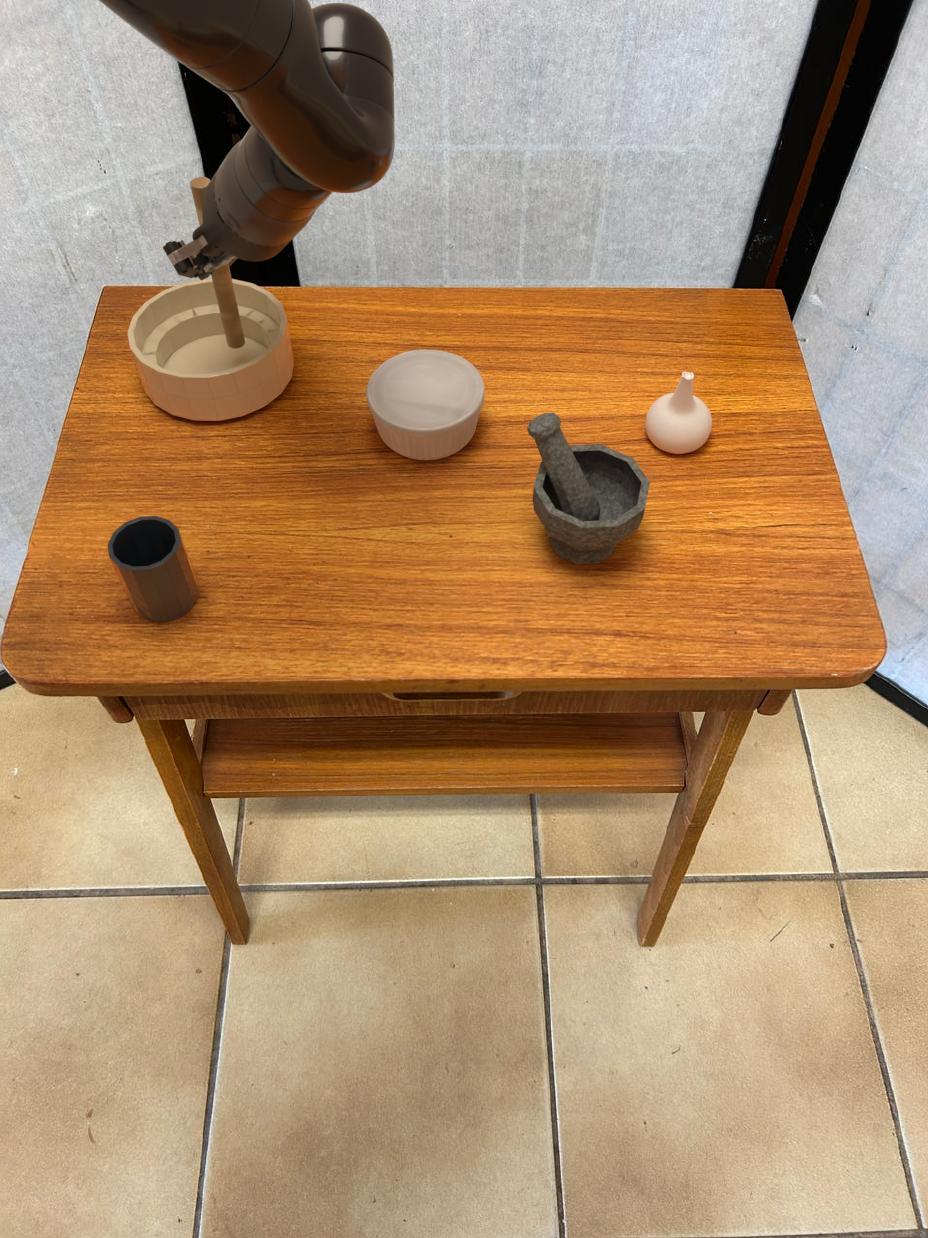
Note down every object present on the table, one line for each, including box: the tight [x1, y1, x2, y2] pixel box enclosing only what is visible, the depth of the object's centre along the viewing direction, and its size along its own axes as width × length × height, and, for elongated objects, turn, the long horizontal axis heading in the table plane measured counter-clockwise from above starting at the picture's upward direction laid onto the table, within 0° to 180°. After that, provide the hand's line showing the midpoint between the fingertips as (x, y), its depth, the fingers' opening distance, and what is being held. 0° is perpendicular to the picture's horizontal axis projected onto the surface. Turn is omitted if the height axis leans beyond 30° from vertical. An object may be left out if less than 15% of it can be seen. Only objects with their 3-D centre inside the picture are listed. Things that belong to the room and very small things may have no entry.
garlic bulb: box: [644, 371, 713, 455], centre depth 90 cm, size 6×6×8 cm
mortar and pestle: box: [526, 412, 651, 565], centre depth 81 cm, size 11×9×12 cm
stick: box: [189, 176, 245, 349], centre depth 89 cm, size 2×2×17 cm
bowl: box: [126, 278, 295, 422], centre depth 95 cm, size 15×15×6 cm
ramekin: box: [365, 349, 486, 461], centre depth 91 cm, size 11×11×5 cm
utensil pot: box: [107, 515, 200, 623], centre depth 78 cm, size 6×6×7 cm
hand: (207, 264), depth 90 cm, fingers closed on stick, 2 cm apart
